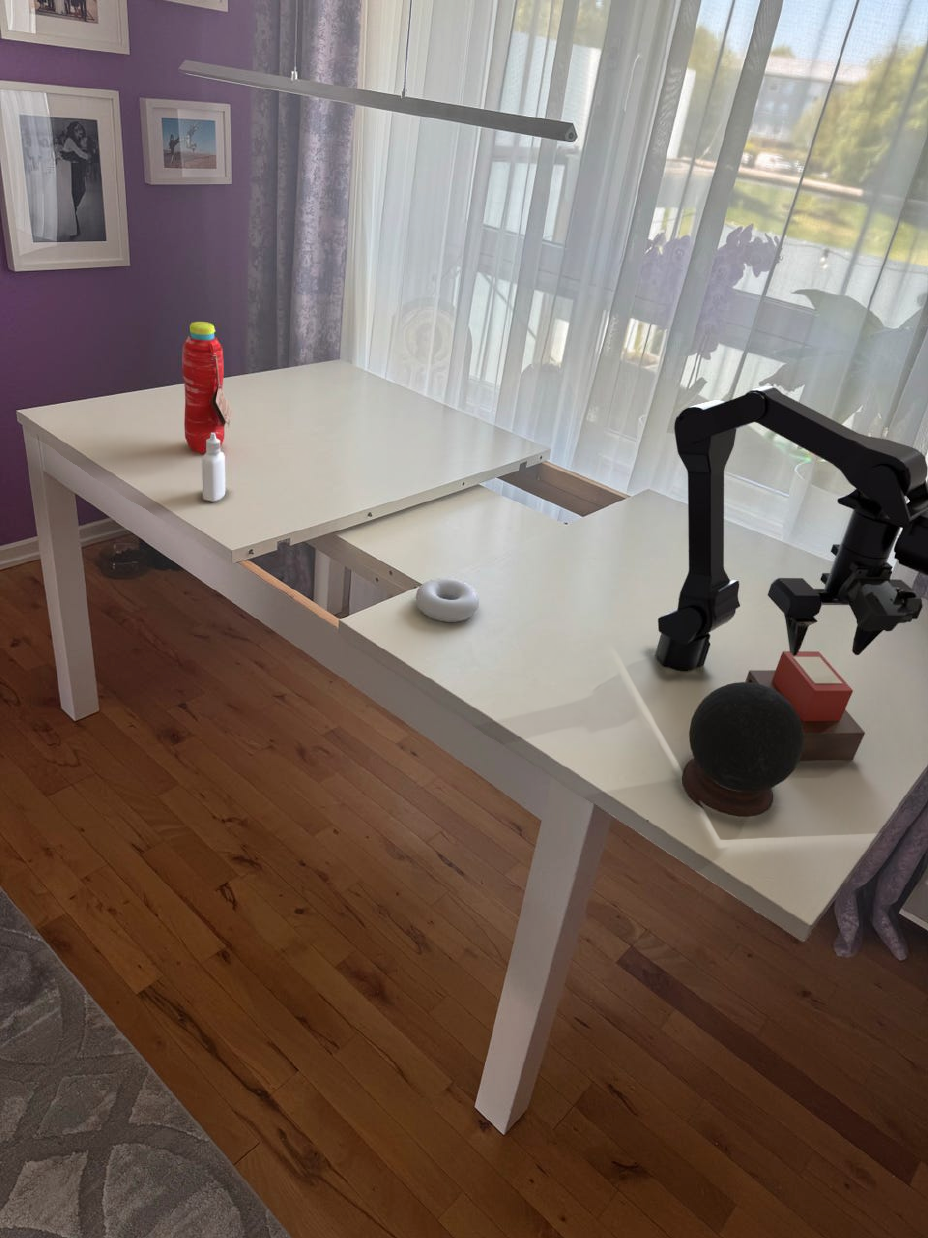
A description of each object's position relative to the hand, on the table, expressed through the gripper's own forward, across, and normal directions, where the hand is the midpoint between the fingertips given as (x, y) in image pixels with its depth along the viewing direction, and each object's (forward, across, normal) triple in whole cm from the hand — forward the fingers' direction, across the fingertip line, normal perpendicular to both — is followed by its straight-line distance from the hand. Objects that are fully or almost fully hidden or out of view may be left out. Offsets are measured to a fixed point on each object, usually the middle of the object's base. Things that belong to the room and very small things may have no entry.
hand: (824, 653), depth 119 cm
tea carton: (+8, 0, 0) cm, 8 cm away
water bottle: (+12, -82, +91) cm, 123 cm away
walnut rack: (+13, 0, 0) cm, 13 cm away
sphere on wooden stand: (+13, -15, -11) cm, 23 cm away
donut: (+13, -44, +31) cm, 55 cm away
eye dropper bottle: (+12, -81, +70) cm, 107 cm away
